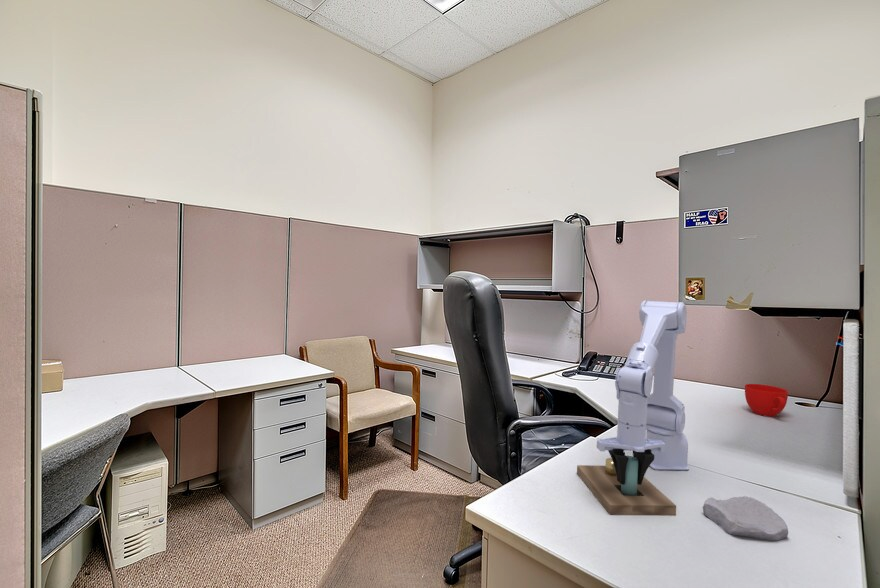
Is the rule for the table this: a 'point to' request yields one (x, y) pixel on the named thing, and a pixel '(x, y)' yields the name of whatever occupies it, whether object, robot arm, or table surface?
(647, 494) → the pin board
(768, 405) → the ceramic cup
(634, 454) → the robot arm
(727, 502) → the stone block
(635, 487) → the teal pin
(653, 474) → the table surface
